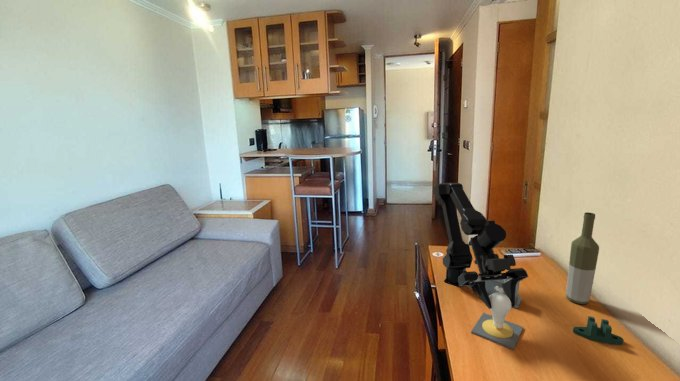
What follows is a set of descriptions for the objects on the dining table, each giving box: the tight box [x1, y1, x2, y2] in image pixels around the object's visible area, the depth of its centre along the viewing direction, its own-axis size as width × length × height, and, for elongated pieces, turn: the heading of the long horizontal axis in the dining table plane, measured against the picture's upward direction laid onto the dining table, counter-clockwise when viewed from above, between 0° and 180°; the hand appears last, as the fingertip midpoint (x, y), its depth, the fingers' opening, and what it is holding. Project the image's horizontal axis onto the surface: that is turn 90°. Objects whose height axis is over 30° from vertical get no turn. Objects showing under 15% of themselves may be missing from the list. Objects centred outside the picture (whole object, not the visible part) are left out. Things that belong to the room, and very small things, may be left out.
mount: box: [572, 316, 624, 346], centre depth 86 cm, size 11×4×5 cm, turn 62°
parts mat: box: [470, 312, 524, 351], centre depth 90 cm, size 11×11×1 cm
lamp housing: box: [485, 276, 523, 309], centre depth 105 cm, size 12×6×7 cm, turn 49°
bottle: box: [565, 211, 600, 305], centre depth 100 cm, size 7×7×30 cm
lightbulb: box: [489, 292, 512, 328], centre depth 89 cm, size 6×6×11 cm
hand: (501, 307), depth 87 cm, fingers open, 6 cm apart
